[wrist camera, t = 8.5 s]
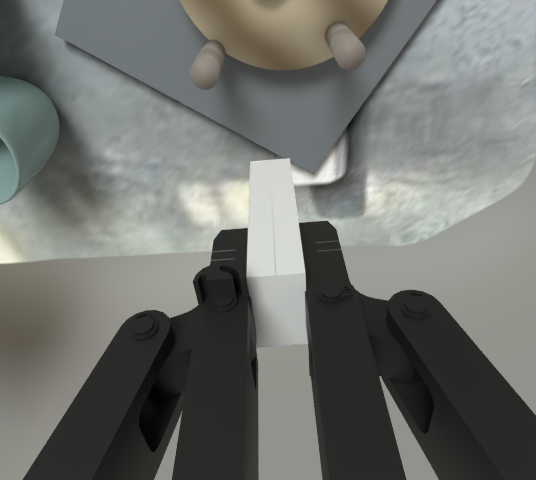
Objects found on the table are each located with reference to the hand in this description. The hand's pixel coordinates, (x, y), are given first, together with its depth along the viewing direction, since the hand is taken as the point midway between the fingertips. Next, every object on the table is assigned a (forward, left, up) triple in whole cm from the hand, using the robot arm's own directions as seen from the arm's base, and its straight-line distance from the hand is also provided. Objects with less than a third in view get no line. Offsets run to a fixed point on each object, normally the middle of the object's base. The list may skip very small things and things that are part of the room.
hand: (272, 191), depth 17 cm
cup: (-16, -15, -23) cm, 32 cm away
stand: (-3, +5, -23) cm, 23 cm away
